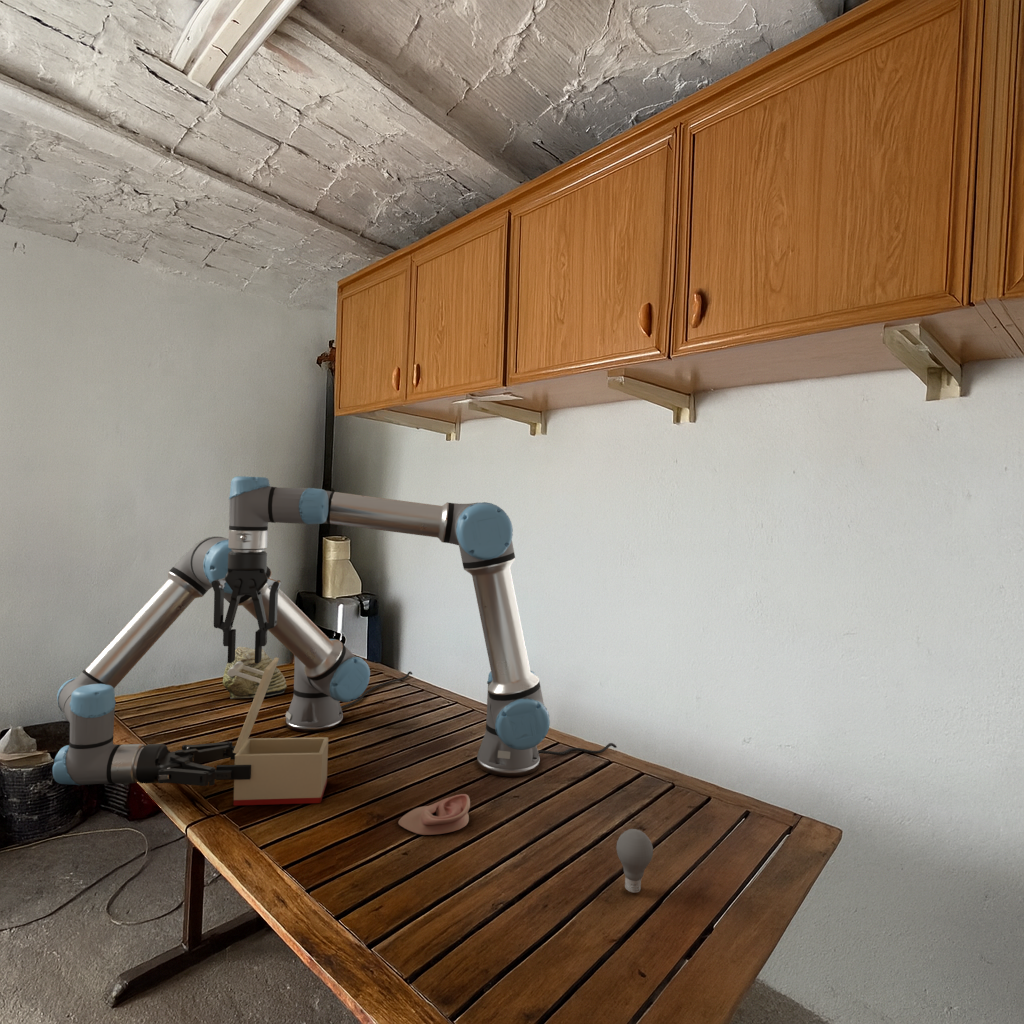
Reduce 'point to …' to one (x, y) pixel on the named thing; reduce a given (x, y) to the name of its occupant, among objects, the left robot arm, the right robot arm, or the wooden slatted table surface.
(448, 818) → the anatomical model
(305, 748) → the chest
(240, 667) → the lid
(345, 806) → the wooden slatted table surface
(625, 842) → the light bulb
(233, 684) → the fossil
